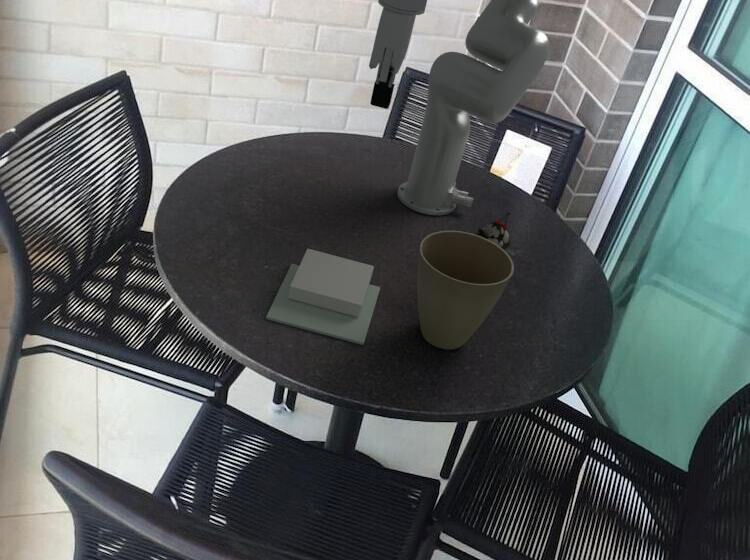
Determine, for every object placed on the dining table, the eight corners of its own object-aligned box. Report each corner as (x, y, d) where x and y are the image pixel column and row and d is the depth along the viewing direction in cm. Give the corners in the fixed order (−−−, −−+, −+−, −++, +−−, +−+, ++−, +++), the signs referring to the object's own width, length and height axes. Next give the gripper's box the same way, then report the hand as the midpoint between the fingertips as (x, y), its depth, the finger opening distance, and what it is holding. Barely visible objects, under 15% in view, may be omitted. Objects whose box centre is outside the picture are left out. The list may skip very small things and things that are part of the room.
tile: (374, 266, 141) (361, 305, 131) (371, 278, 143) (358, 318, 133) (307, 248, 142) (290, 286, 132) (305, 261, 143) (287, 299, 133)
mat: (379, 289, 141) (380, 287, 141) (363, 345, 128) (363, 342, 128) (291, 265, 142) (291, 263, 142) (265, 318, 129) (266, 316, 128)
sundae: (498, 280, 151) (523, 212, 143) (491, 299, 146) (516, 229, 137) (465, 268, 152) (487, 200, 144) (456, 286, 147) (479, 216, 139)
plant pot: (480, 313, 142) (506, 238, 133) (491, 371, 129) (521, 291, 120) (396, 301, 140) (417, 223, 131) (399, 358, 128) (423, 276, 119)
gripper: (387, -20, 134) (366, 84, 144) (372, 4, 121) (349, 116, 132) (431, -9, 134) (407, 95, 144) (420, 16, 121) (394, 128, 132)
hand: (379, 105), depth 138 cm, fingers closed
